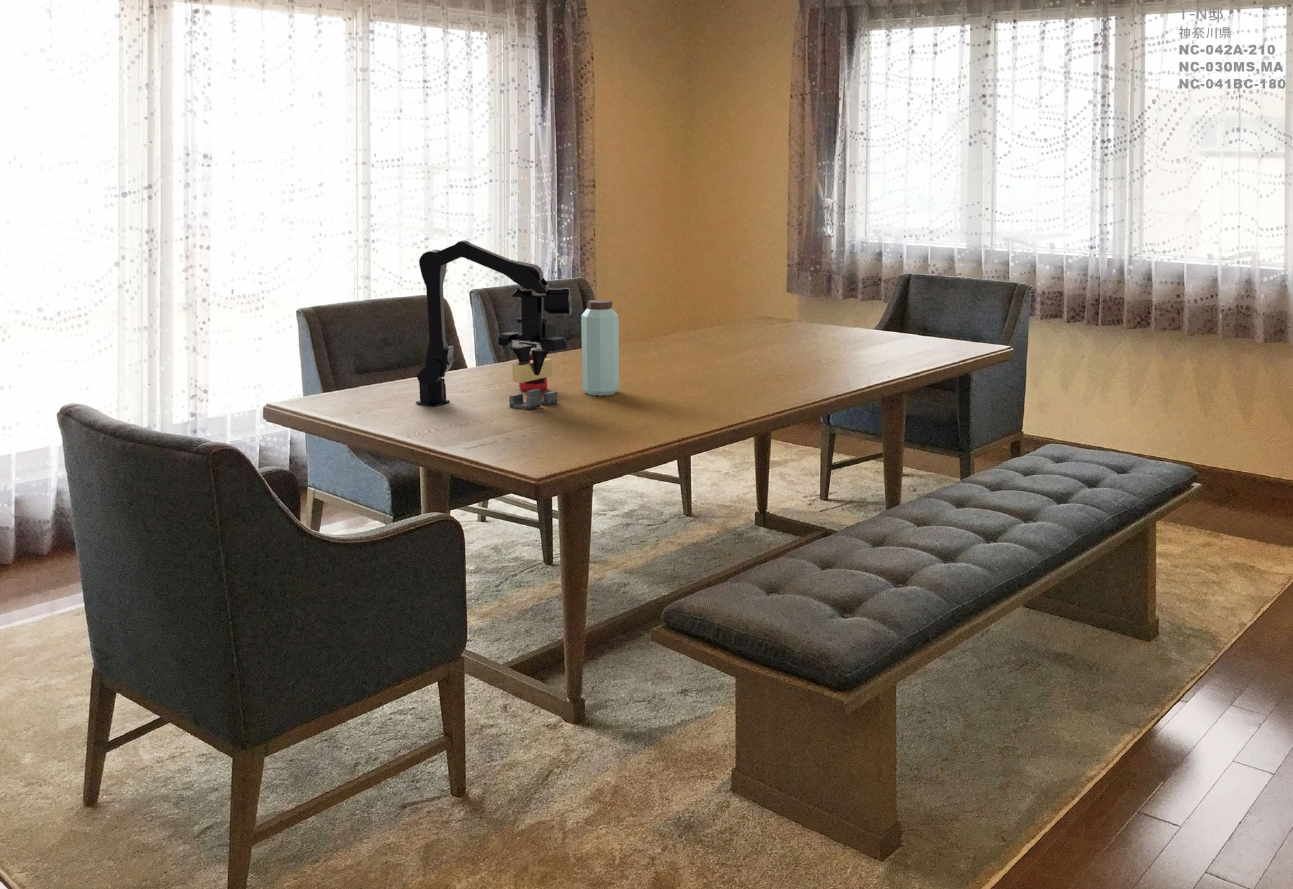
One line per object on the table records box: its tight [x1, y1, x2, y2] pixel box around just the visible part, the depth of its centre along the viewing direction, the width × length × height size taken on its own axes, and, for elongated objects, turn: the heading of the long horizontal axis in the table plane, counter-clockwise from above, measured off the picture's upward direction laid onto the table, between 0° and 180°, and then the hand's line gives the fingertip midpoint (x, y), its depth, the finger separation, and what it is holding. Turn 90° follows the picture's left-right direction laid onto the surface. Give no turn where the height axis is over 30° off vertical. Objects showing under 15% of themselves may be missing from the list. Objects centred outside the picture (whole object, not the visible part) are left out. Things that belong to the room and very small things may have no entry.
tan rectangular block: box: [511, 357, 553, 383], centre depth 322 cm, size 12×3×4 cm, turn 143°
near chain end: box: [508, 392, 541, 411], centre depth 321 cm, size 4×7×3 cm, turn 55°
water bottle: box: [580, 299, 620, 397], centre depth 336 cm, size 10×10×25 cm
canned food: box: [518, 347, 548, 393], centre depth 342 cm, size 8×8×11 cm
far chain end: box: [526, 389, 558, 406], centre depth 326 cm, size 4×7×3 cm, turn 55°
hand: (532, 374), depth 322 cm, fingers closed on tan rectangular block, 3 cm apart
